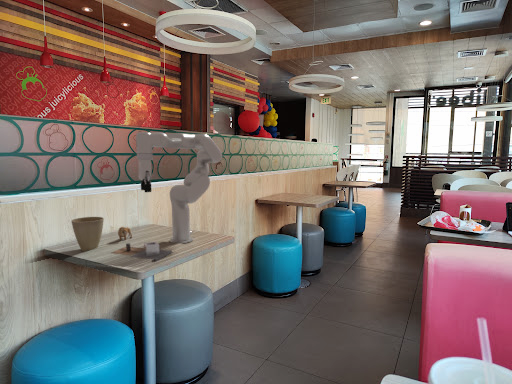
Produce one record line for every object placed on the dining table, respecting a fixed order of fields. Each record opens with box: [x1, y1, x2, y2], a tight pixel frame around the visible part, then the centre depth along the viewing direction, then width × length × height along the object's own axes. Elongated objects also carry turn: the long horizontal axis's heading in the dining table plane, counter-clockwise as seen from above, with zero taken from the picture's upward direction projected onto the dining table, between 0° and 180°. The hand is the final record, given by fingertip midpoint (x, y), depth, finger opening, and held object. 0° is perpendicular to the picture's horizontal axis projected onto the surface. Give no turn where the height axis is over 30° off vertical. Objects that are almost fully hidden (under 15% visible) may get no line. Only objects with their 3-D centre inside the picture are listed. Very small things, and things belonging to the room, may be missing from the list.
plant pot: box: [71, 216, 105, 252], centre depth 178 cm, size 15×15×16 cm
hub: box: [130, 249, 173, 262], centre depth 167 cm, size 14×14×5 cm
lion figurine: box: [117, 226, 133, 241], centre depth 196 cm, size 15×5×9 cm, turn 7°
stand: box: [111, 242, 144, 256], centre depth 172 cm, size 12×12×4 cm
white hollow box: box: [143, 241, 160, 256], centre depth 167 cm, size 6×6×5 cm
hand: (146, 191), depth 175 cm, fingers open, 9 cm apart
